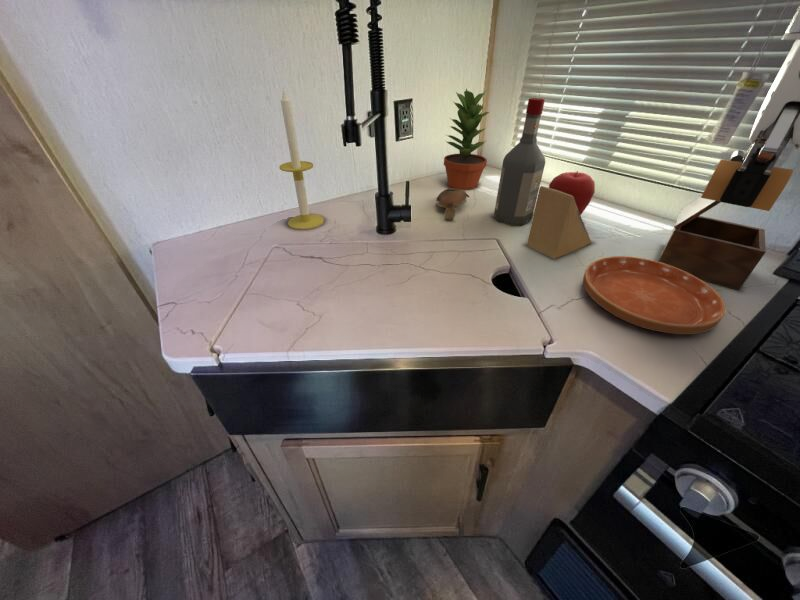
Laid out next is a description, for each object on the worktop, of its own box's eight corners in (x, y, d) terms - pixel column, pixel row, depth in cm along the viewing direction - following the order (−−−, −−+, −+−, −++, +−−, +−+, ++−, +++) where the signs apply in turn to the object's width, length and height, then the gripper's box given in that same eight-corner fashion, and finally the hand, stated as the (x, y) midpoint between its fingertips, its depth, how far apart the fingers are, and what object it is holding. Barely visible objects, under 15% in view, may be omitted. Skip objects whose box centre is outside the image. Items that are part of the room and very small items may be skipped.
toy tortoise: (433, 222, 100) (468, 218, 97) (430, 205, 97) (466, 200, 95) (441, 199, 116) (471, 195, 113) (438, 183, 113) (470, 179, 110)
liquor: (534, 218, 100) (564, 99, 82) (518, 228, 95) (546, 102, 77) (506, 210, 105) (528, 95, 87) (489, 218, 100) (509, 99, 82)
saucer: (748, 334, 60) (762, 317, 58) (629, 348, 58) (638, 331, 55) (652, 266, 79) (660, 252, 76) (558, 275, 76) (563, 260, 74)
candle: (284, 229, 94) (253, 90, 75) (292, 215, 102) (267, 85, 83) (321, 229, 94) (300, 89, 75) (326, 214, 102) (309, 85, 83)
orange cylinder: (770, 201, 46) (792, 166, 43) (769, 211, 43) (793, 174, 40) (705, 189, 49) (722, 156, 47) (700, 197, 47) (718, 163, 44)
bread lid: (766, 158, 69) (746, 139, 70) (768, 173, 61) (745, 152, 62) (684, 211, 81) (667, 195, 82) (676, 229, 73) (658, 212, 74)
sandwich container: (593, 242, 88) (615, 183, 79) (554, 259, 81) (573, 196, 72) (564, 230, 94) (581, 173, 85) (525, 245, 87) (540, 185, 78)
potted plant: (484, 179, 129) (498, 84, 111) (481, 193, 117) (495, 89, 99) (445, 176, 132) (451, 83, 114) (437, 189, 120) (444, 88, 102)
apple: (562, 207, 107) (575, 162, 99) (594, 221, 99) (611, 173, 91) (532, 214, 103) (543, 167, 95) (563, 229, 94) (578, 179, 86)
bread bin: (740, 265, 79) (764, 229, 74) (738, 290, 71) (766, 251, 66) (664, 246, 87) (681, 212, 81) (655, 266, 79) (674, 230, 73)
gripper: (915, 16, 28) (772, 226, 39) (880, 23, 38) (774, 188, 49) (790, 20, 32) (691, 209, 43) (788, 25, 42) (709, 178, 53)
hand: (736, 197), depth 46 cm, fingers closed on orange cylinder, 4 cm apart
